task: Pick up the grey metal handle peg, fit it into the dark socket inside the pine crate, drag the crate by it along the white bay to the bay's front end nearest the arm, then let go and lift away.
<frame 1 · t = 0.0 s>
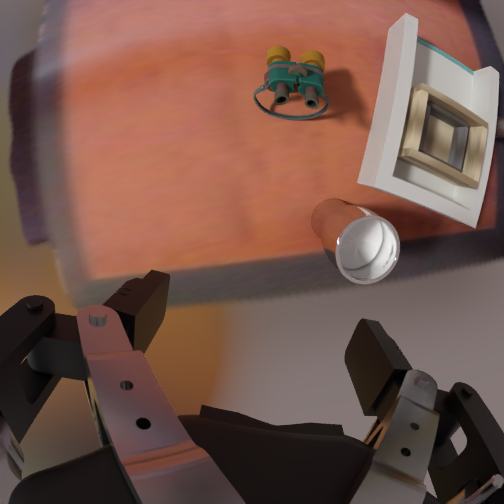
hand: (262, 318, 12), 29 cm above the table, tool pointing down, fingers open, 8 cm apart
bay: (428, 121, 35), on the table
handle peg: (487, 128, 34), on the table
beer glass: (331, 220, 40), on the table
crate: (441, 137, 31), point 5 cm above the table, slide at 10.0 cm
binoculars: (290, 90, 35), on the table
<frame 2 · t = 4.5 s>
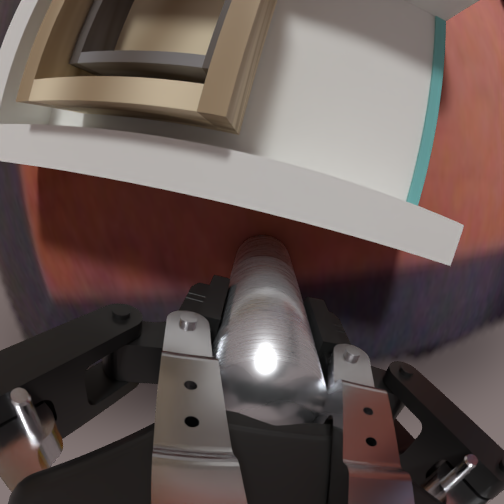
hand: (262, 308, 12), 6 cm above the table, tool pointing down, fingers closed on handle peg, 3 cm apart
bay: (233, 43, 14), on the table
handle peg: (262, 261, 18), on the table, touching gripper
crate: (165, 3, 10), point 5 cm above the table, slide at 10.0 cm
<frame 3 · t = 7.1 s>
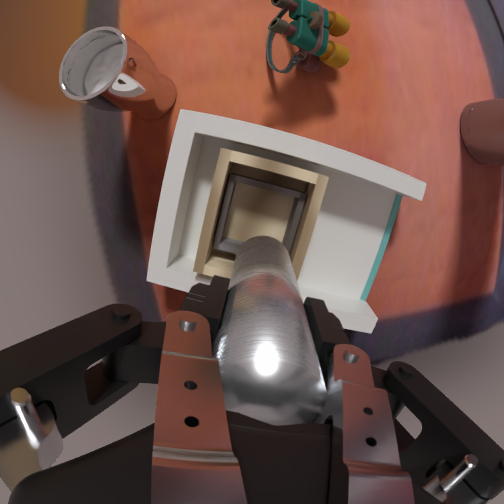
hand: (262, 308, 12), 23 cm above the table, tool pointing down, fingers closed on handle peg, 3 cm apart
bay: (283, 218, 35), on the table
handle peg: (262, 262, 18), point 17 cm above the table, touching gripper
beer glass: (153, 96, 31), on the table
crate: (258, 219, 30), point 5 cm above the table, slide at 10.0 cm
binoculars: (302, 50, 29), on the table
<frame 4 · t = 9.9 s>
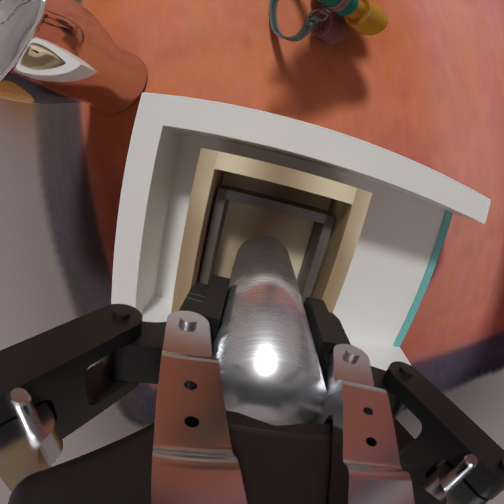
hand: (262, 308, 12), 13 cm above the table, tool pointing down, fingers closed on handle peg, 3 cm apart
bay: (297, 245, 25), on the table
handle peg: (262, 262, 18), point 7 cm above the table, touching gripper
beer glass: (118, 83, 21), on the table
crate: (263, 254, 20), point 5 cm above the table, slide at 10.0 cm
binoculars: (318, 15, 19), on the table
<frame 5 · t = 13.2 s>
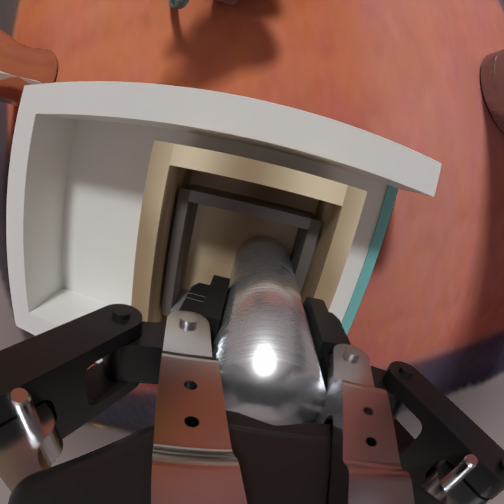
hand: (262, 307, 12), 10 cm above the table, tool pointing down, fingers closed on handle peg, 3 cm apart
bay: (196, 233, 21), on the table
handle peg: (262, 262, 18), point 3 cm above the table, touching crate, gripper
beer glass: (36, 79, 18), on the table
crate: (236, 266, 17), point 5 cm above the table, slide at 3.6 cm, touching handle peg
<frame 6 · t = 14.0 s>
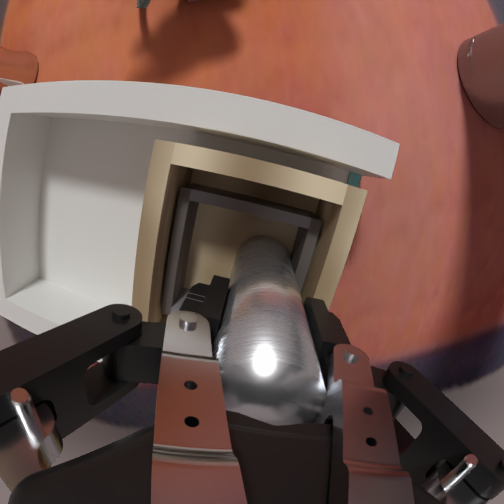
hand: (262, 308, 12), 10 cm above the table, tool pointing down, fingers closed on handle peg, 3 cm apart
bay: (159, 223, 21), on the table
handle peg: (262, 261, 18), point 3 cm above the table, touching gripper
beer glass: (19, 80, 18), on the table
crate: (236, 265, 17), point 5 cm above the table, slide at 0.6 cm
when the fingers open (10 cm above the table, at t = 15.3 s): handle peg stays where it is, resting on crate.
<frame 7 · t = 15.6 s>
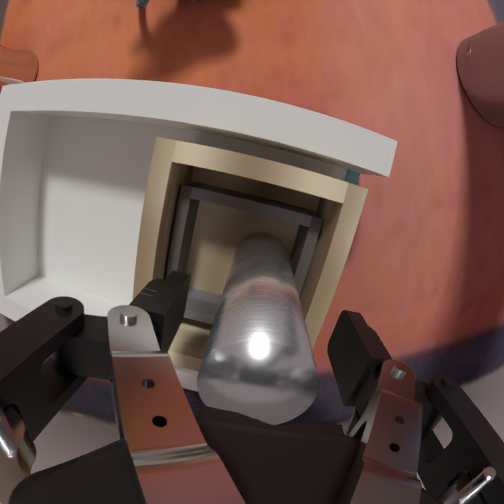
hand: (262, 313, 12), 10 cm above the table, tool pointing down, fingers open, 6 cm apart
bay: (158, 221, 21), on the table
handle peg: (261, 257, 19), point 3 cm above the table, touching crate
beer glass: (19, 79, 18), on the table
crate: (237, 263, 17), point 5 cm above the table, slide at 0.5 cm, touching handle peg
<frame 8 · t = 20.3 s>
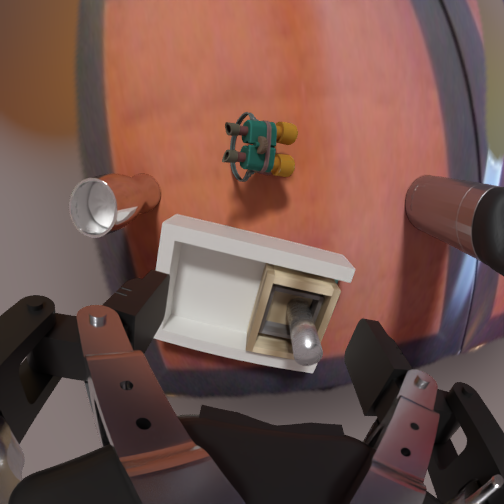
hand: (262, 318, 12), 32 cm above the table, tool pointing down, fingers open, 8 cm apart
bay: (247, 288, 46), on the table
handle peg: (297, 307, 44), point 3 cm above the table, touching crate
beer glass: (143, 192, 42), on the table
crate: (289, 312, 42), point 5 cm above the table, slide at 0.5 cm, touching handle peg
binoculars: (261, 149, 40), on the table
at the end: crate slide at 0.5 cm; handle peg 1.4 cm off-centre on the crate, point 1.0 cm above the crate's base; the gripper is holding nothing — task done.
